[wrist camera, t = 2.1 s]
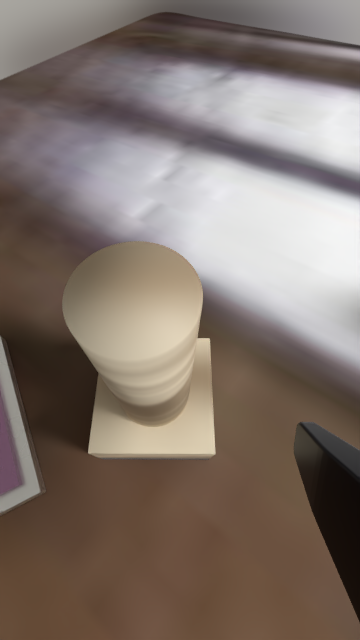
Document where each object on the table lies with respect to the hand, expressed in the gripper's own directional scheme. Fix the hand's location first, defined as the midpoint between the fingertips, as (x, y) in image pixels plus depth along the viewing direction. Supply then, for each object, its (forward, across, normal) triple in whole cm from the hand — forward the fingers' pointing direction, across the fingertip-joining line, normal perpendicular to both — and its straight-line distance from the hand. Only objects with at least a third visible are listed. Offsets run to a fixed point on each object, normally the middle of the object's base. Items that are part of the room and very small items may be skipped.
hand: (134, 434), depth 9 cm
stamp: (+9, 0, +5) cm, 11 cm away
